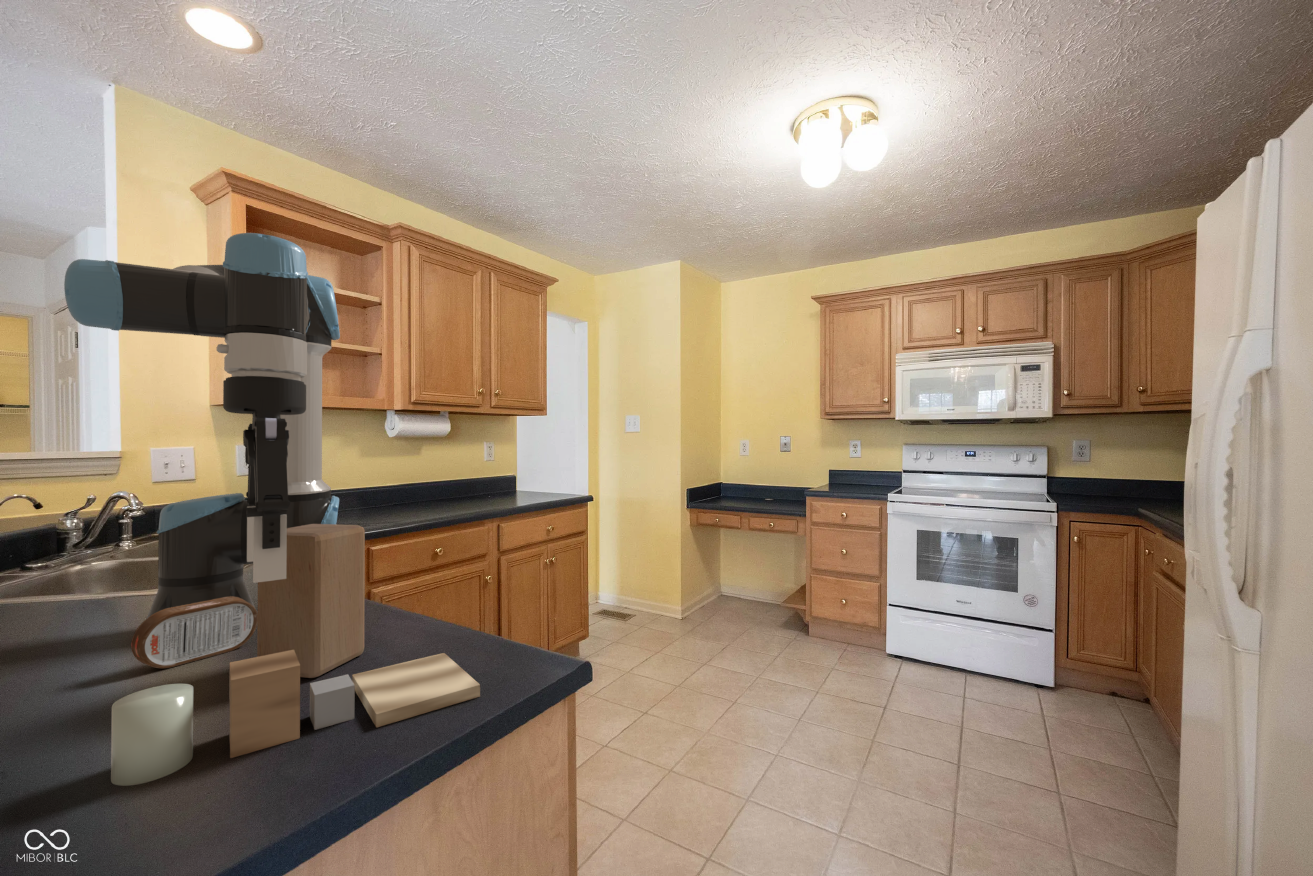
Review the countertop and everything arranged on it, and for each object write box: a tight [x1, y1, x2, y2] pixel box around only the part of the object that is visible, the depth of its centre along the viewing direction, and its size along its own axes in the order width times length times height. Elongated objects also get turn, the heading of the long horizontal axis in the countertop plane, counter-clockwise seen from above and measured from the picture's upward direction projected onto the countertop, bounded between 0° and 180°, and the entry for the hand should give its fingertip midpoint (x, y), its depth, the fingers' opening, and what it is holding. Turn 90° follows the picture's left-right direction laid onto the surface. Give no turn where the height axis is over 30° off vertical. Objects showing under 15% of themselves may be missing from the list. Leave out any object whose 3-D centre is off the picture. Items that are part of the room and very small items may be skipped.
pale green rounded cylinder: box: [110, 683, 194, 787], centre depth 54 cm, size 6×6×7 cm
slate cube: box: [309, 673, 356, 731], centre depth 64 cm, size 4×4×4 cm
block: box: [256, 523, 366, 679], centre depth 80 cm, size 10×10×20 cm
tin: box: [130, 597, 258, 669], centre depth 83 cm, size 15×3×8 cm, turn 150°
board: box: [351, 652, 481, 728], centre depth 71 cm, size 14×12×2 cm
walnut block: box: [228, 650, 301, 759], centre depth 60 cm, size 6×6×8 cm
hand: (265, 569), depth 60 cm, fingers open, 13 cm apart
